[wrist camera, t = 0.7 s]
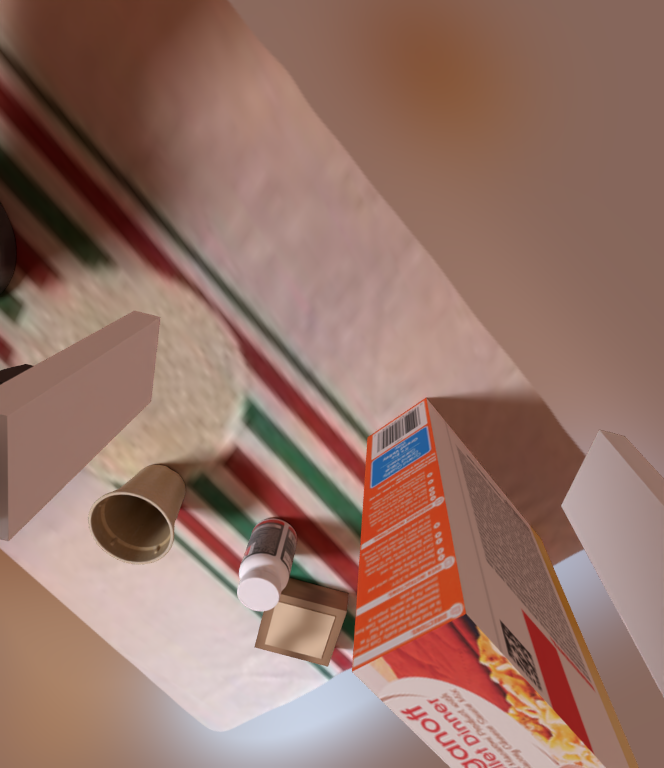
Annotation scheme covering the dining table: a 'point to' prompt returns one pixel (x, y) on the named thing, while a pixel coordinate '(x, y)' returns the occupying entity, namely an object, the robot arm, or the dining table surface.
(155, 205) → the dining table surface
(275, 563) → the pill bottle
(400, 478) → the pasta box
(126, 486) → the flower pot
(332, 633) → the base block
